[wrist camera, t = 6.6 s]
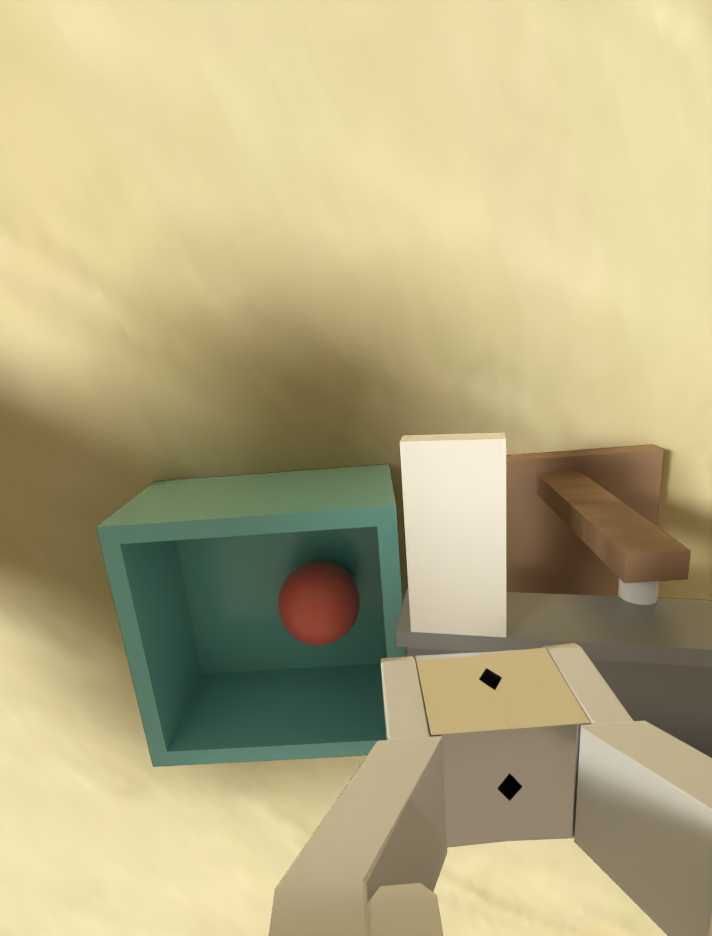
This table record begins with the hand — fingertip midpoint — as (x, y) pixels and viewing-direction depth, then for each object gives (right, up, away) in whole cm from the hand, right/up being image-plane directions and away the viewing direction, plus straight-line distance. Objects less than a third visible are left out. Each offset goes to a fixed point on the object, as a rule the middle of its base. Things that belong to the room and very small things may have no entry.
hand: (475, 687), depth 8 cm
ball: (-4, -3, +17) cm, 18 cm away
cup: (-6, -3, +20) cm, 21 cm away
